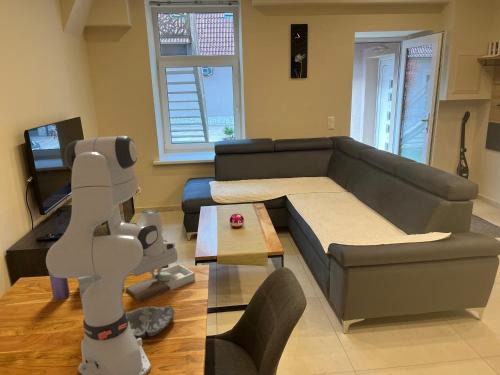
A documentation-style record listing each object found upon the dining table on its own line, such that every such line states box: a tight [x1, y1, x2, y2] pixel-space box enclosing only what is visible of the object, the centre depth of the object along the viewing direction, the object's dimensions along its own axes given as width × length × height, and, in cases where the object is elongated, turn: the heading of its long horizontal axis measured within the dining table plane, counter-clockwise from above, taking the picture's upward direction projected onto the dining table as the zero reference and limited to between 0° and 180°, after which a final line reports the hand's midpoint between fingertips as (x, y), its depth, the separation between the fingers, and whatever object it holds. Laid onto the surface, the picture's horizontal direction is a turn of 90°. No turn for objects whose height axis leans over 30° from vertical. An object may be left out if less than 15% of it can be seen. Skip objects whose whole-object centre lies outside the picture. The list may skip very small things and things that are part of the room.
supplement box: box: [77, 275, 126, 300], centre depth 156 cm, size 17×13×9 cm
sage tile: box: [158, 272, 172, 281], centre depth 160 cm, size 4×4×2 cm
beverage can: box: [48, 271, 70, 301], centre depth 149 cm, size 6×6×15 cm
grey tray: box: [154, 263, 196, 291], centre depth 161 cm, size 12×12×4 cm
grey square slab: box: [125, 276, 171, 303], centre depth 153 cm, size 13×13×2 cm
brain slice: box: [125, 305, 176, 338], centre depth 129 cm, size 20×17×3 cm
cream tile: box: [171, 273, 185, 281], centre depth 159 cm, size 4×4×2 cm
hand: (156, 277), depth 158 cm, fingers closed
